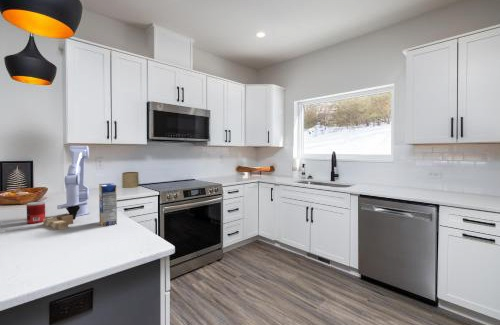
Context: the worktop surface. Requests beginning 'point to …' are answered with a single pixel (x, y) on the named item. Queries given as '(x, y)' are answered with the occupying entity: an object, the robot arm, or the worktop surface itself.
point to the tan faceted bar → (55, 223)
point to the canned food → (35, 212)
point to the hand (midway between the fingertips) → (73, 219)
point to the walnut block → (65, 218)
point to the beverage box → (108, 204)
